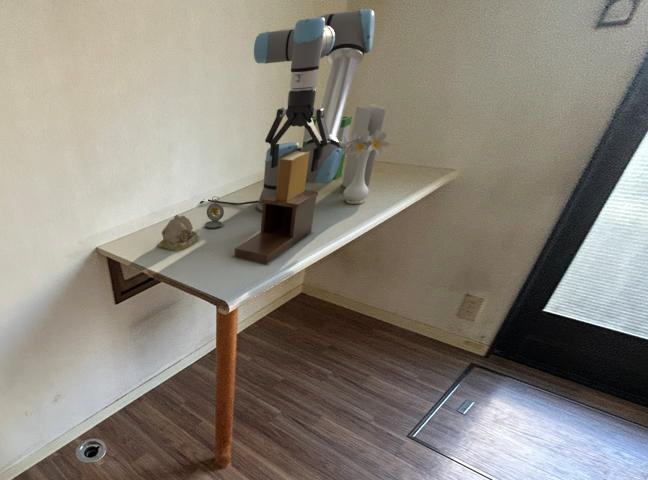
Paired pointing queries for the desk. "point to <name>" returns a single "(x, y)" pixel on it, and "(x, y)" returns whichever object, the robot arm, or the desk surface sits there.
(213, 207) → the pocket watch
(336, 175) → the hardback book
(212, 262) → the desk surface
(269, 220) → the step shelf
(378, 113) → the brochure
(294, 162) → the ochre book
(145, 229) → the desk surface
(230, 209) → the desk surface
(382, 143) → the flower vase
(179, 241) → the ceramic model
